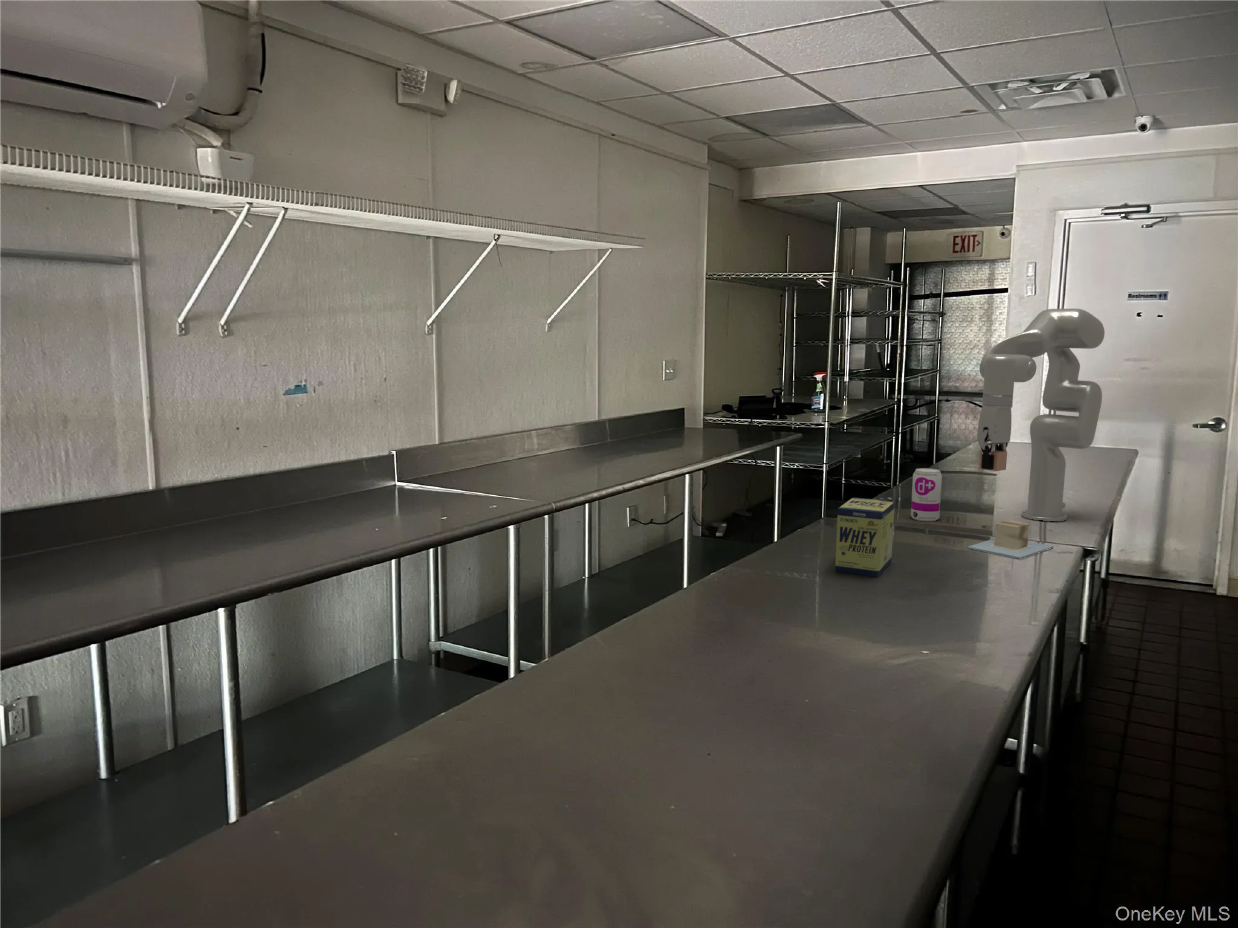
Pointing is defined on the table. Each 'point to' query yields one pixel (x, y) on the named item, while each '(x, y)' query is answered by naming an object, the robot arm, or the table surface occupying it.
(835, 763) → the table surface
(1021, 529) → the base block
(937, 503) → the supplement can
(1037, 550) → the board
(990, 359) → the robot arm
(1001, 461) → the top block
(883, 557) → the protein box
